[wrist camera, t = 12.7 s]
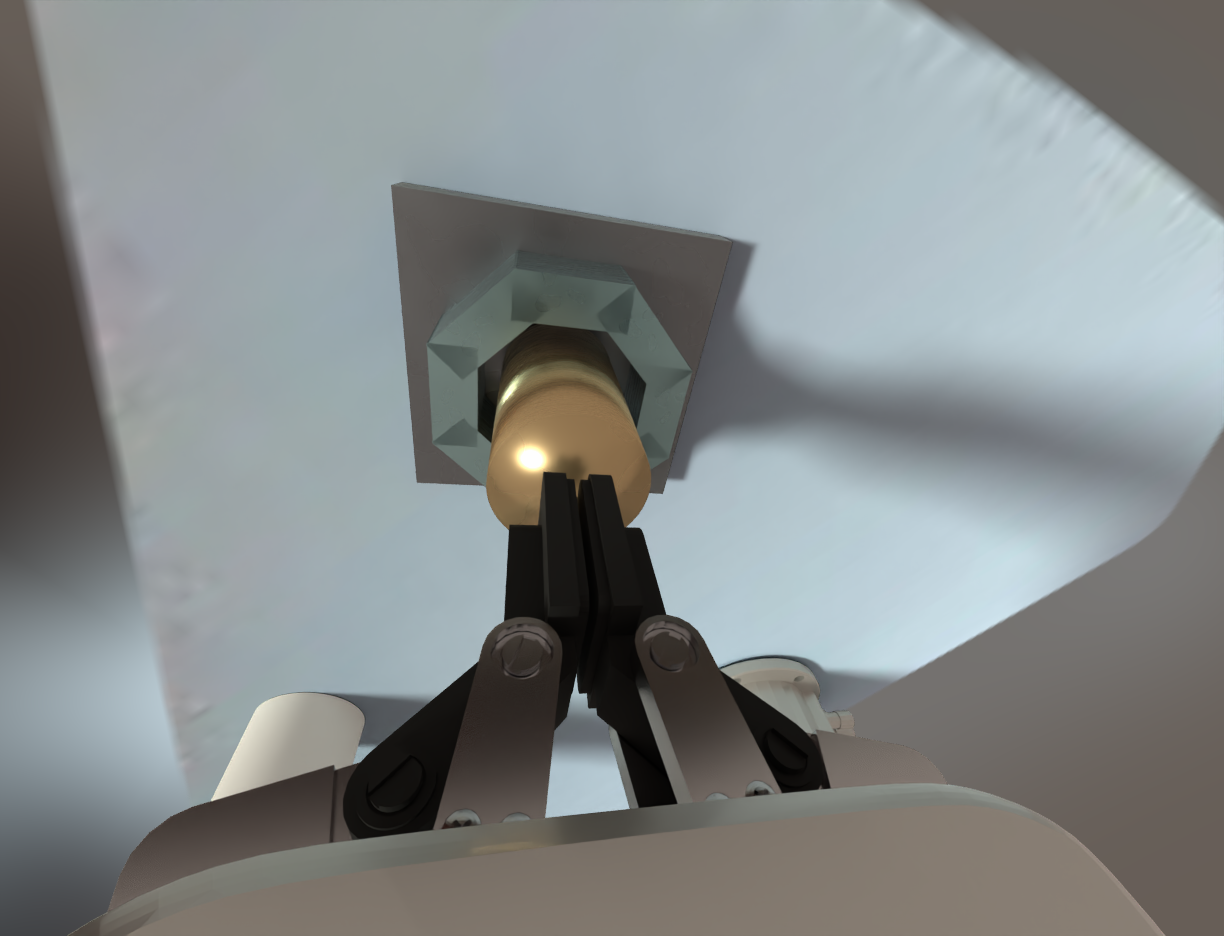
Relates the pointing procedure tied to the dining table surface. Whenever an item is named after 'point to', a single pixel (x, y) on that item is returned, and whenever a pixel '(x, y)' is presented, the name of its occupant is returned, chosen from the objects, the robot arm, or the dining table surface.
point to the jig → (543, 314)
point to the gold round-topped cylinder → (561, 424)
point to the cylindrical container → (293, 741)
